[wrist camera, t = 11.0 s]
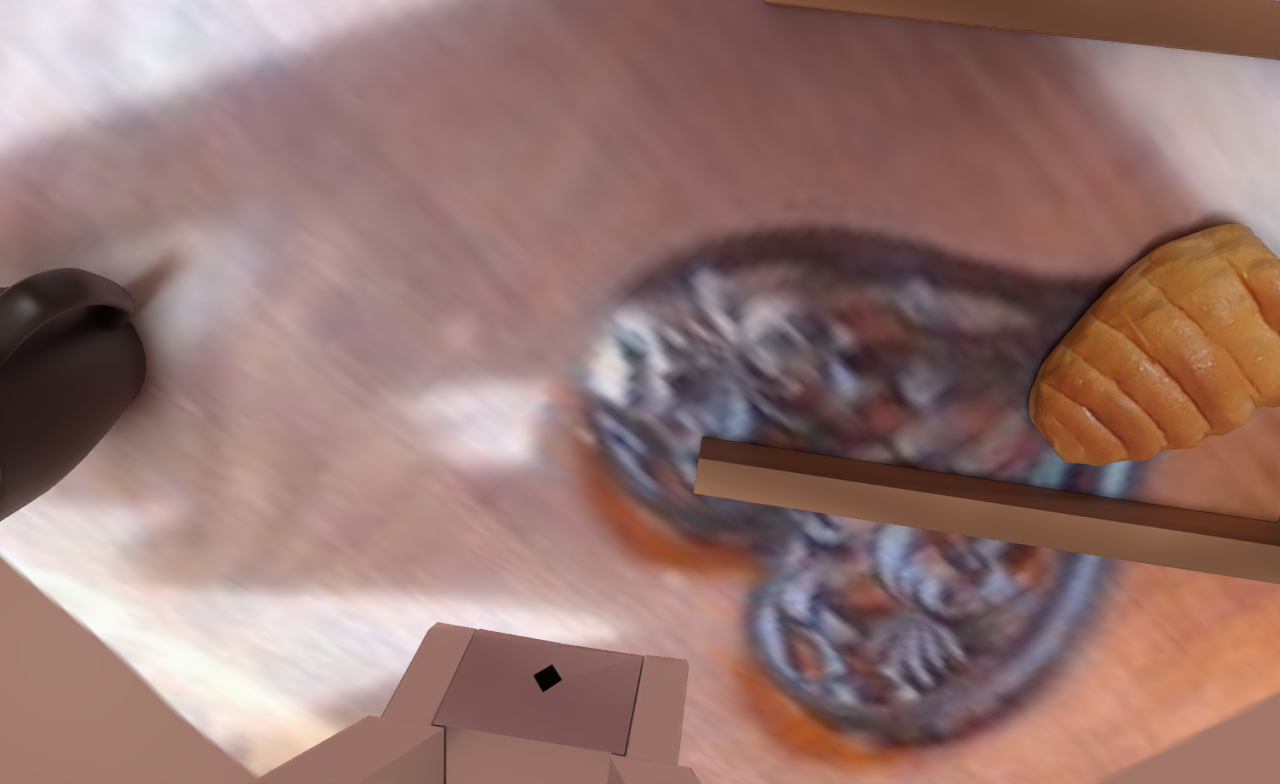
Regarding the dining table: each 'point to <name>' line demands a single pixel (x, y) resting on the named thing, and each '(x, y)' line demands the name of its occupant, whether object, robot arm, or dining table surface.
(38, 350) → the mug
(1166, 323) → the pastry
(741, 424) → the dining table surface
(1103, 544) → the guide channel
